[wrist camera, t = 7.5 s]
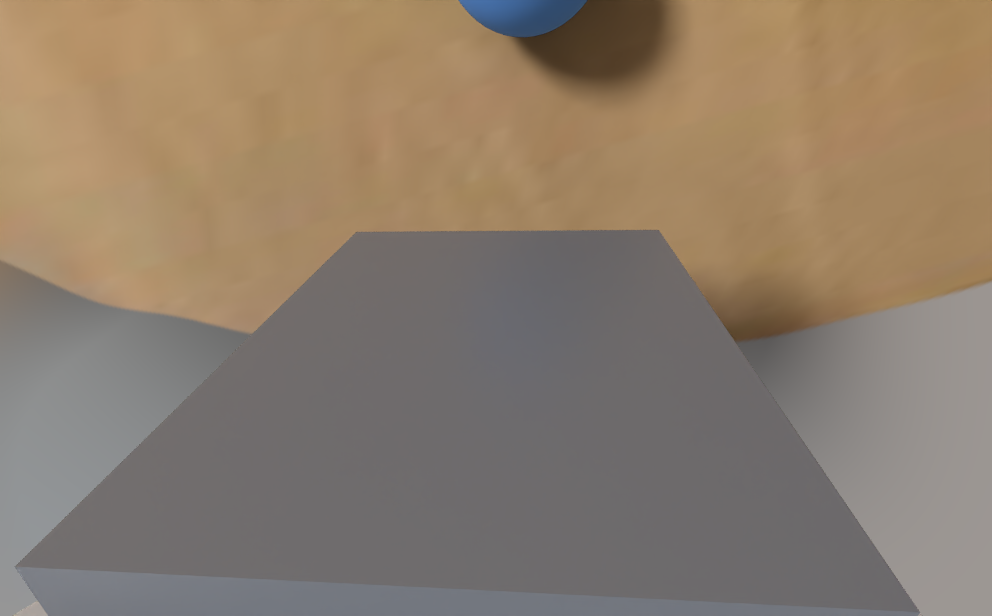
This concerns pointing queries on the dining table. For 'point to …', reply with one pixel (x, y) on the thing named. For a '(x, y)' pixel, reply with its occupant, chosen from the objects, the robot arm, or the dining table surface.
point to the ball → (522, 15)
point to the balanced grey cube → (474, 455)
